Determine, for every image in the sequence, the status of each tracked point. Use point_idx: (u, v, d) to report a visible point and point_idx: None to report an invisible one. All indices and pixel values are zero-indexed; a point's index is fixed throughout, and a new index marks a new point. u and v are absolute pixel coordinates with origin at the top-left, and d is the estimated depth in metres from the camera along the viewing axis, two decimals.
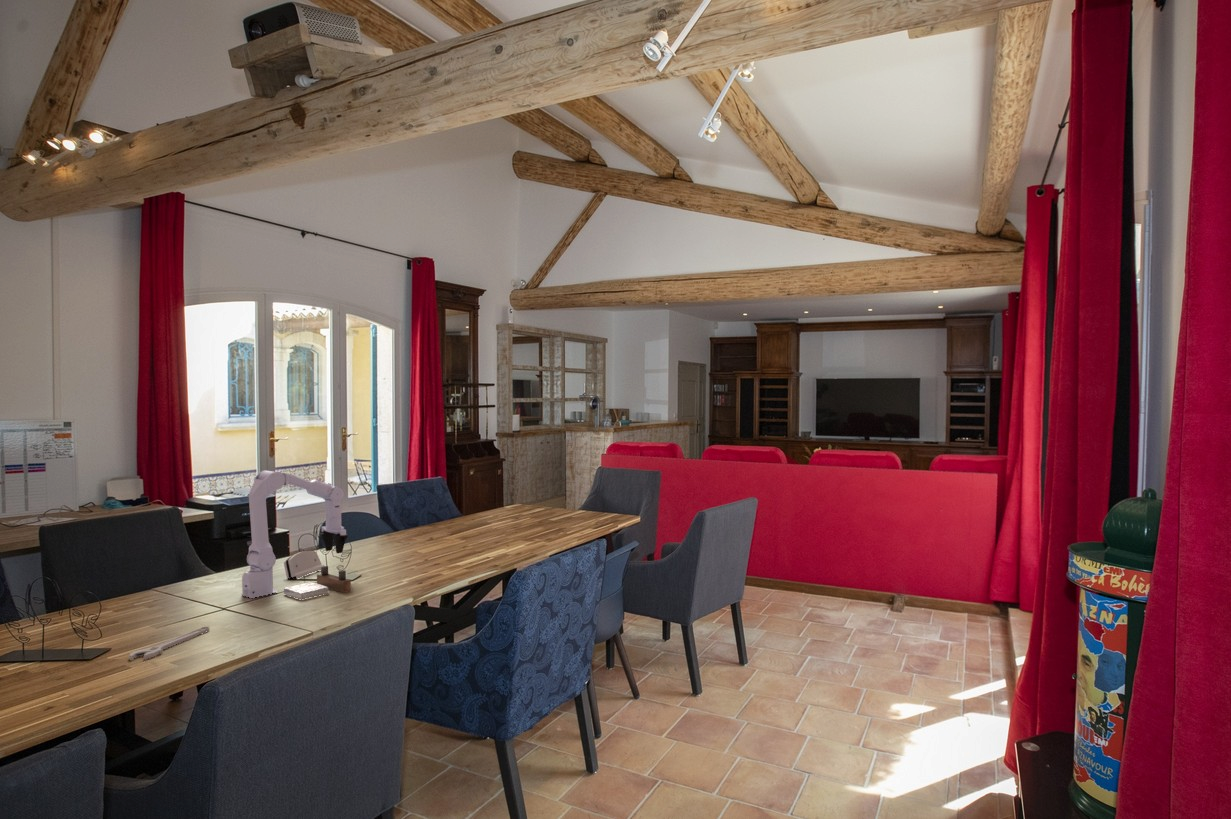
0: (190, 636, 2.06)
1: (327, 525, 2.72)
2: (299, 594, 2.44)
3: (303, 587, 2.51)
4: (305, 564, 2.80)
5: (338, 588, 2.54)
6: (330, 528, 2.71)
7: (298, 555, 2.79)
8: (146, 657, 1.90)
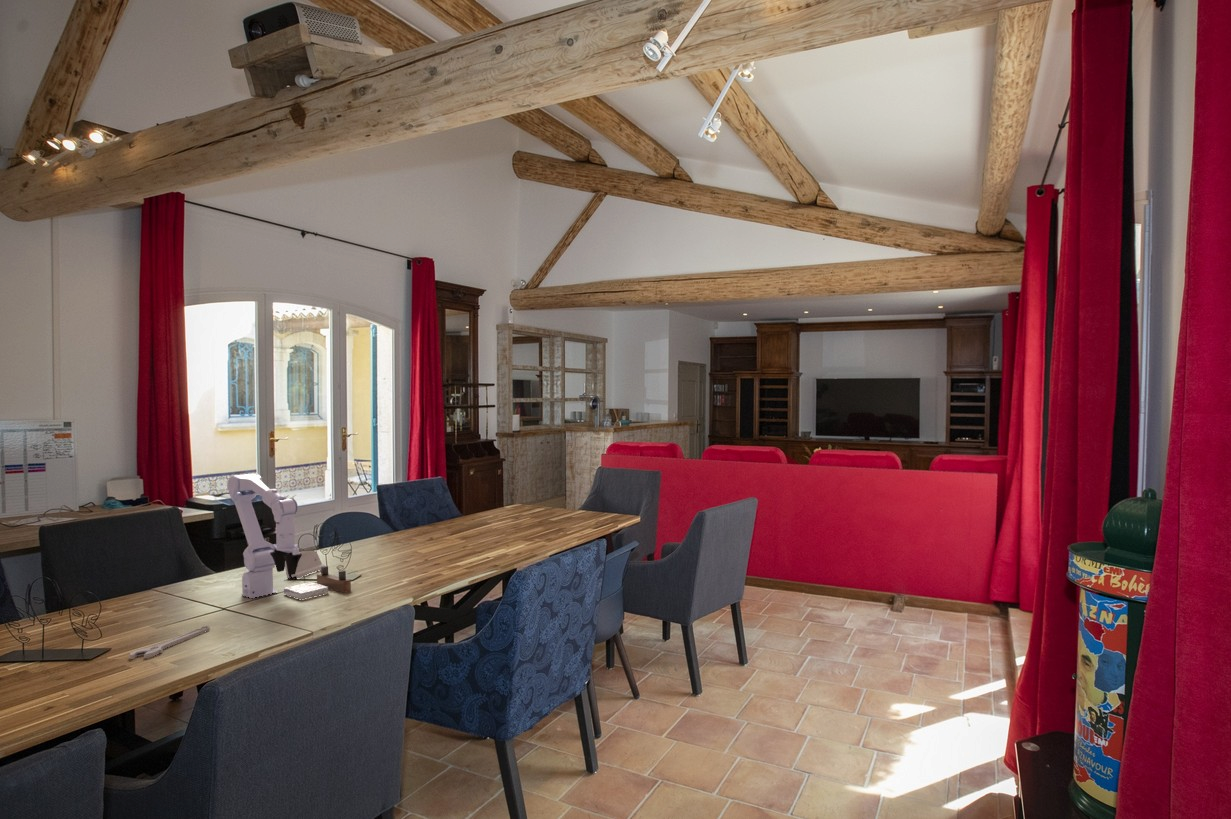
0: (190, 636, 2.06)
1: (278, 543, 2.42)
2: (299, 594, 2.44)
3: (303, 587, 2.51)
4: (305, 564, 2.80)
5: (338, 588, 2.54)
6: (281, 547, 2.42)
7: None
8: (146, 656, 1.90)
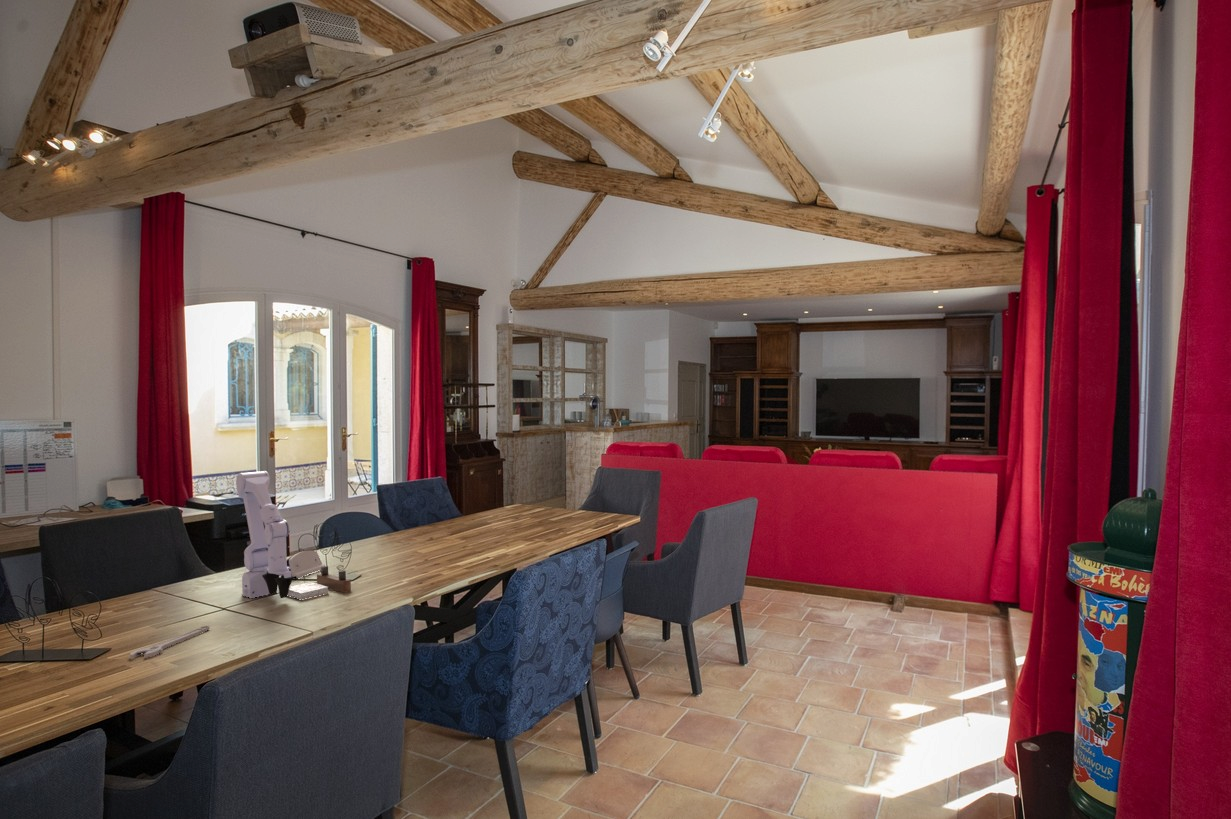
0: (190, 635, 2.06)
1: (270, 566, 2.40)
2: (299, 593, 2.44)
3: (303, 587, 2.51)
4: (306, 564, 2.81)
5: (338, 588, 2.54)
6: (273, 570, 2.40)
7: (299, 555, 2.79)
8: (147, 656, 1.90)
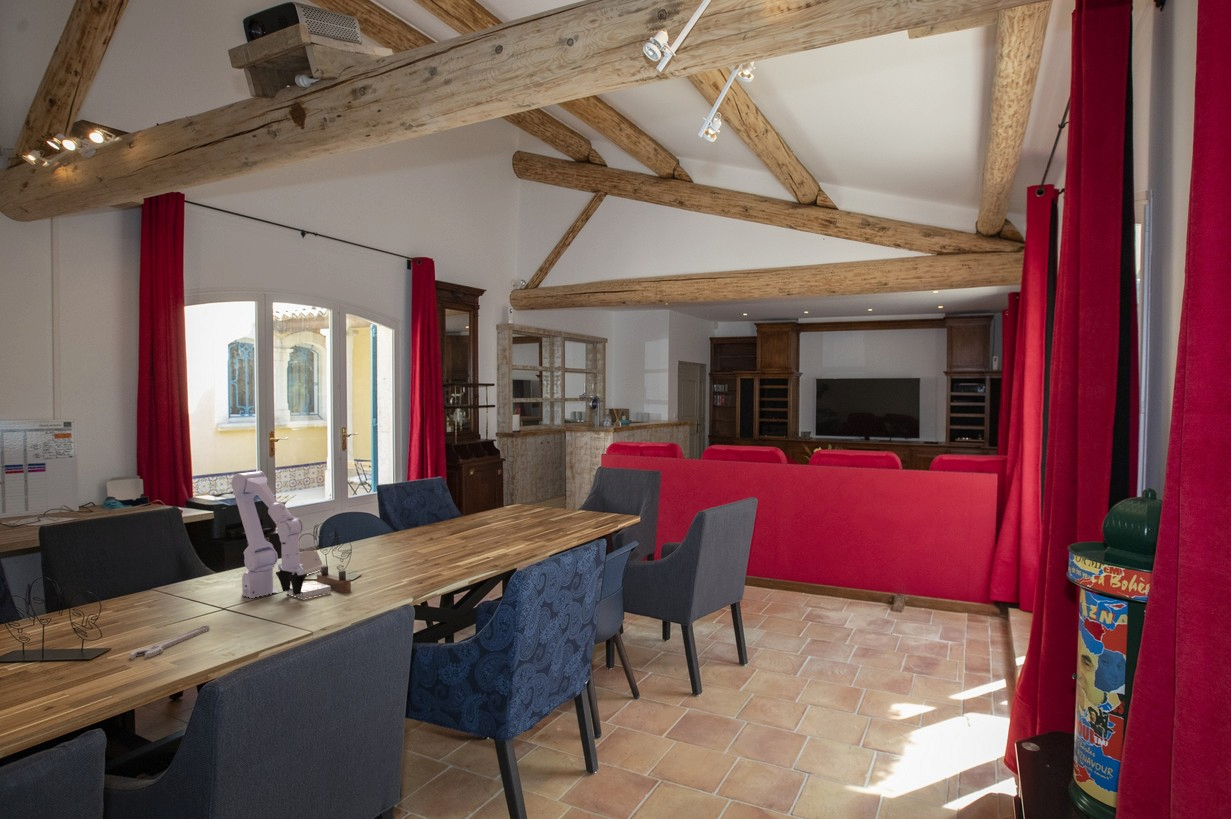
0: (190, 635, 2.07)
1: (283, 563, 2.44)
2: (302, 593, 2.44)
3: (306, 586, 2.52)
4: (306, 564, 2.81)
5: (338, 588, 2.54)
6: (286, 567, 2.44)
7: None
8: (147, 656, 1.91)
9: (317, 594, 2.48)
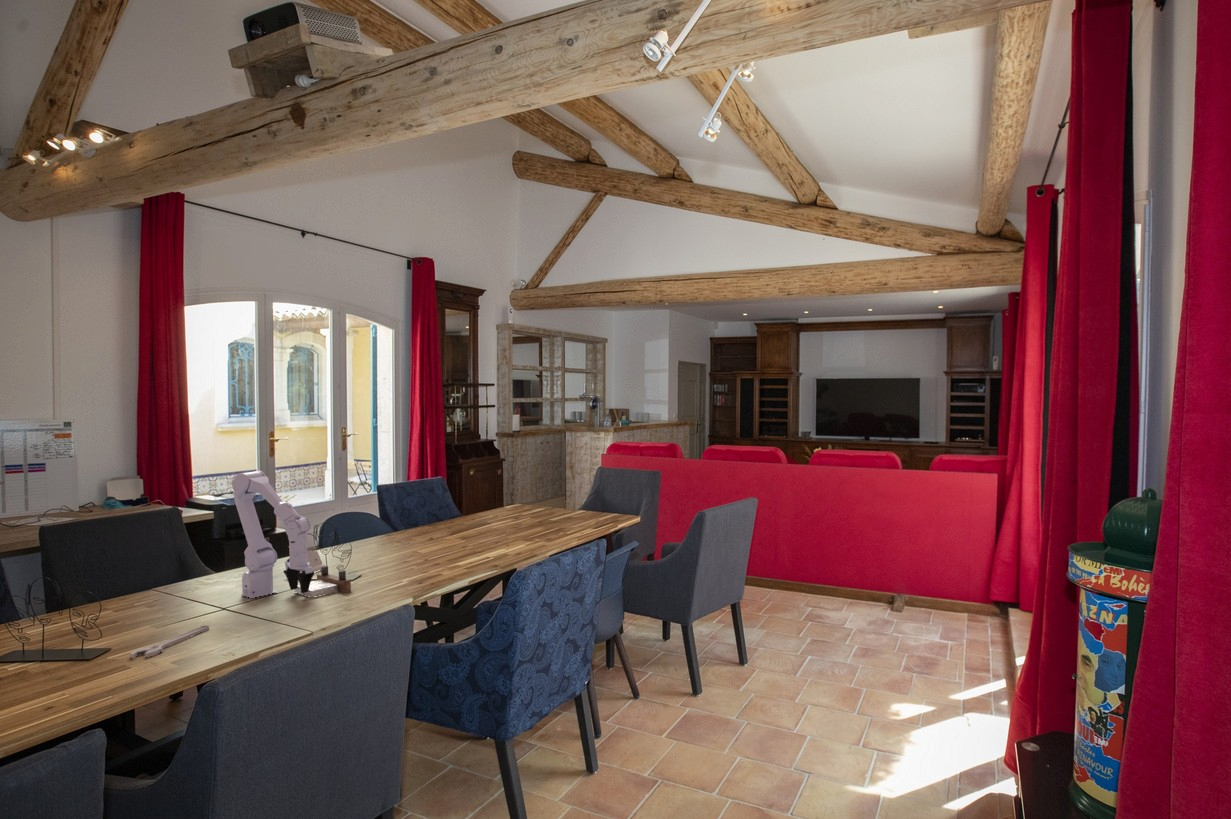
0: (190, 635, 2.07)
1: (291, 562, 2.46)
2: (310, 591, 2.47)
3: (313, 585, 2.54)
4: None
5: (338, 588, 2.54)
6: (294, 566, 2.46)
7: None
8: (147, 655, 1.91)
9: (325, 593, 2.50)
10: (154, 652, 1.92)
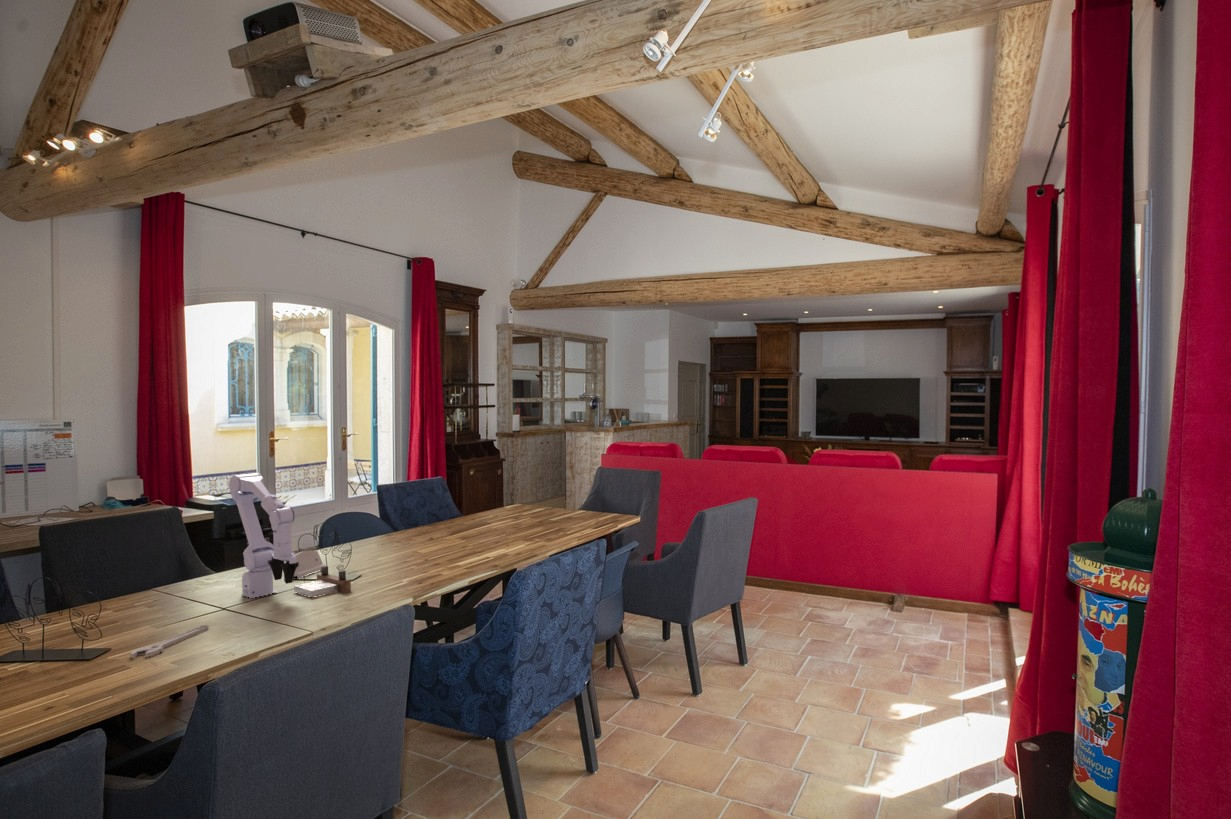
0: (190, 634, 2.07)
1: (275, 552, 2.42)
2: (310, 591, 2.47)
3: (313, 585, 2.54)
4: (306, 564, 2.81)
5: (338, 588, 2.54)
6: (278, 556, 2.42)
7: (299, 555, 2.79)
8: (148, 655, 1.91)
9: (325, 593, 2.50)
10: (154, 652, 1.93)
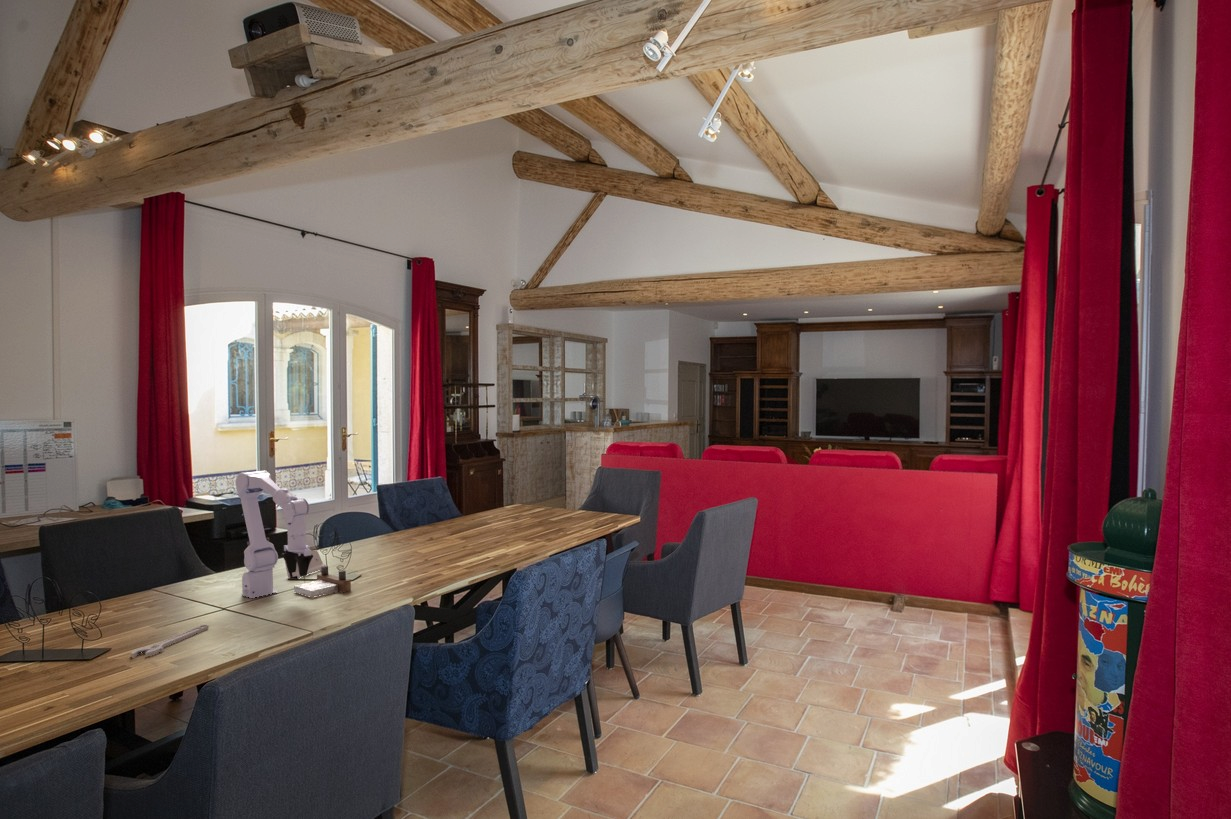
0: (190, 634, 2.07)
1: (289, 544, 2.40)
2: (310, 591, 2.47)
3: (313, 585, 2.54)
4: None
5: (338, 588, 2.54)
6: (293, 548, 2.39)
7: (299, 555, 2.79)
8: (148, 655, 1.91)
9: (325, 593, 2.50)
10: (154, 651, 1.93)
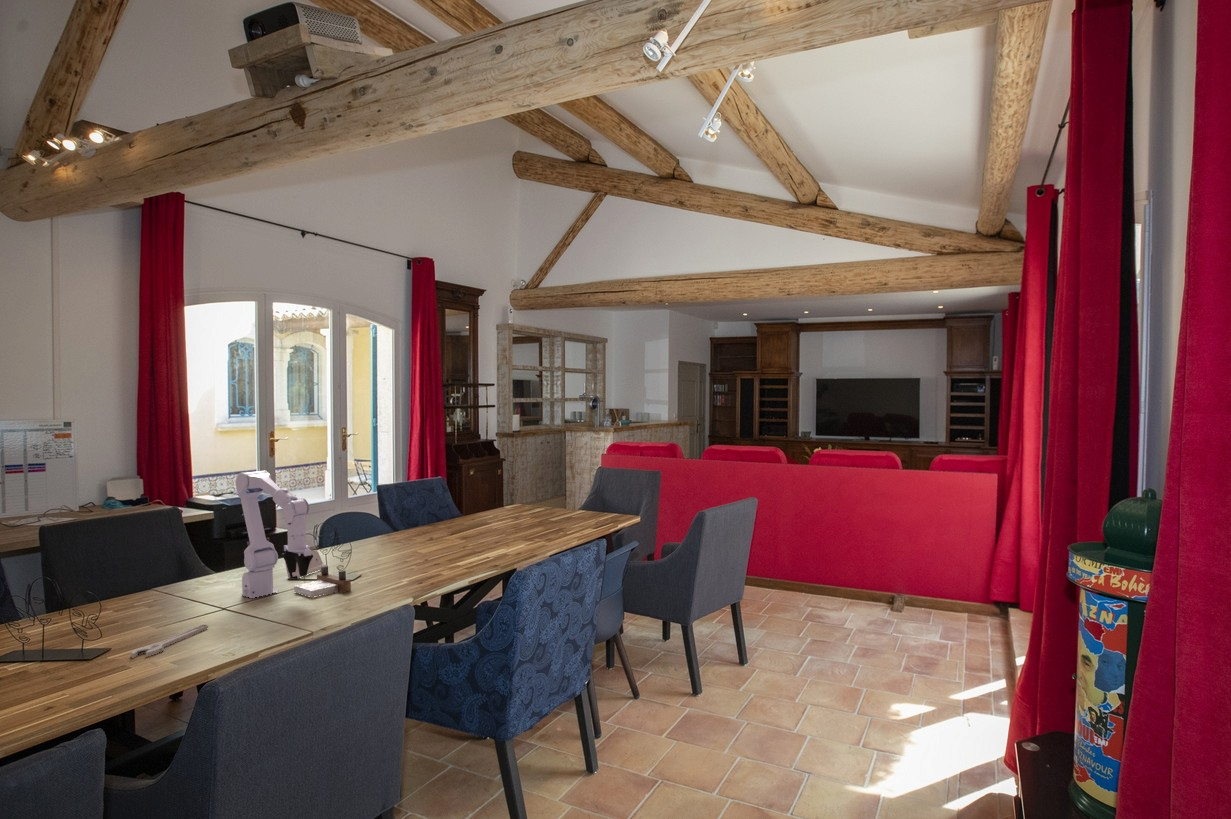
0: (190, 634, 2.08)
1: (289, 544, 2.40)
2: (310, 591, 2.47)
3: (313, 585, 2.54)
4: None
5: (338, 588, 2.54)
6: (293, 548, 2.39)
7: (299, 555, 2.79)
8: (148, 654, 1.92)
9: (325, 593, 2.50)
10: (155, 651, 1.93)
